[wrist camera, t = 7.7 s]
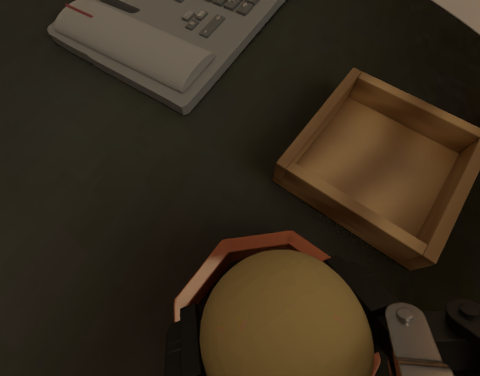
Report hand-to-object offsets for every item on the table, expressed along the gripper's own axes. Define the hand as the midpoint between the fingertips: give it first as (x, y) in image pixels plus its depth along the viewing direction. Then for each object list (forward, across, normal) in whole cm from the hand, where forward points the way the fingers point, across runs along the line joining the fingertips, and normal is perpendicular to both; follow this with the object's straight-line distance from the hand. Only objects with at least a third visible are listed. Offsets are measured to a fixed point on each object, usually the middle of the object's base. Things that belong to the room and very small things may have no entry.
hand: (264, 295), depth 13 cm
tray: (+8, -12, -1) cm, 14 cm away
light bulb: (+2, 0, +5) cm, 5 cm away
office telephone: (+25, -1, -18) cm, 31 cm away
